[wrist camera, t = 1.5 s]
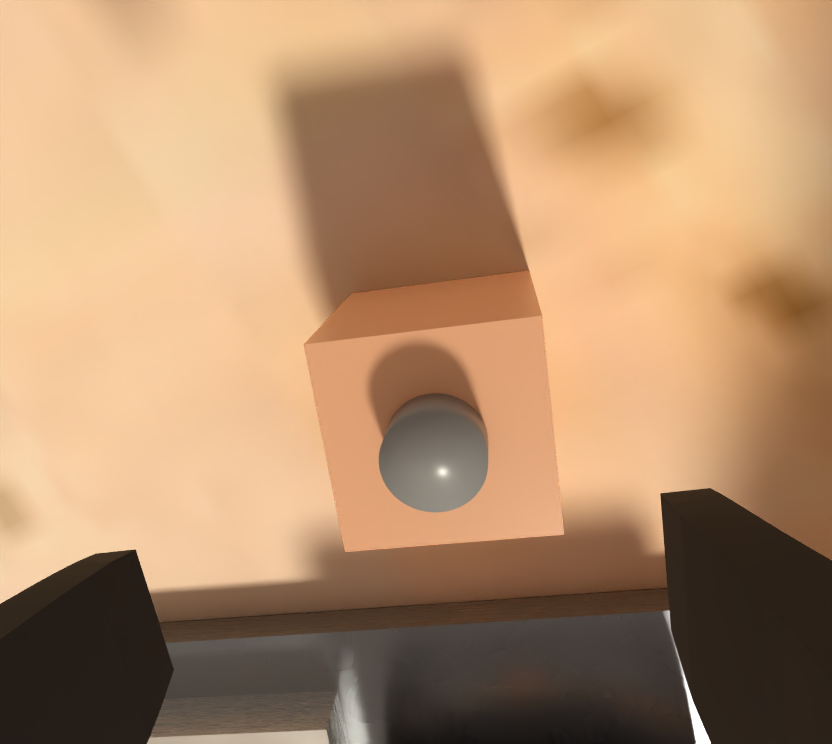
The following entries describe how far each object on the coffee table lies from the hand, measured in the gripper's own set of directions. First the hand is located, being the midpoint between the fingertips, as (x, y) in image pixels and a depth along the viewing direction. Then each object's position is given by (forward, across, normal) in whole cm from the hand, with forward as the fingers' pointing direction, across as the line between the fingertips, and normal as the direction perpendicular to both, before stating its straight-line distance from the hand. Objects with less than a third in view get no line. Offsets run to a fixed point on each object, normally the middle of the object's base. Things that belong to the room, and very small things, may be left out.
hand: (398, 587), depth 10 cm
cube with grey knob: (+10, 0, 0) cm, 10 cm away
